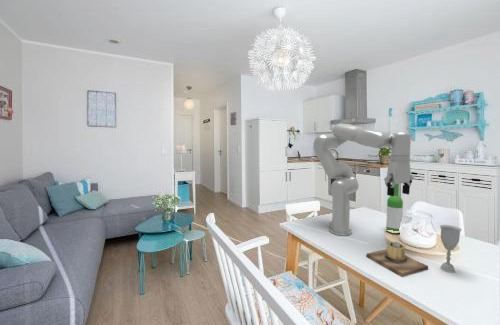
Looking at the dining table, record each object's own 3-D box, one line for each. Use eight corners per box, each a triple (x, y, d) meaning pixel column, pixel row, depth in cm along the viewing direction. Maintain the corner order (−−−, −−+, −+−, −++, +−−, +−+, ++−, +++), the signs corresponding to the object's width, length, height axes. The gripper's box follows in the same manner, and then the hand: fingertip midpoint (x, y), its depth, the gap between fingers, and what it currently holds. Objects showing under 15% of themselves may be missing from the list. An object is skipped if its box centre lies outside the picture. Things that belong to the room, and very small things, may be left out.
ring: (383, 254, 110) (383, 243, 110) (394, 251, 112) (395, 241, 112) (396, 261, 104) (397, 249, 103) (408, 258, 106) (408, 247, 106)
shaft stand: (366, 256, 114) (366, 238, 113) (390, 251, 119) (391, 233, 118) (401, 276, 97) (402, 255, 97) (427, 269, 103) (429, 248, 102)
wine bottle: (398, 235, 137) (400, 183, 134) (383, 232, 143) (385, 181, 140) (403, 232, 142) (405, 181, 139) (389, 228, 148) (391, 179, 145)
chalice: (449, 275, 98) (452, 231, 96) (433, 266, 104) (435, 226, 103) (463, 272, 100) (466, 229, 98) (445, 264, 106) (448, 224, 105)
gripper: (406, 157, 121) (404, 191, 123) (379, 159, 115) (377, 194, 117) (421, 158, 114) (418, 194, 116) (393, 160, 108) (391, 198, 110)
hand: (398, 194), depth 116 cm, fingers open, 9 cm apart
